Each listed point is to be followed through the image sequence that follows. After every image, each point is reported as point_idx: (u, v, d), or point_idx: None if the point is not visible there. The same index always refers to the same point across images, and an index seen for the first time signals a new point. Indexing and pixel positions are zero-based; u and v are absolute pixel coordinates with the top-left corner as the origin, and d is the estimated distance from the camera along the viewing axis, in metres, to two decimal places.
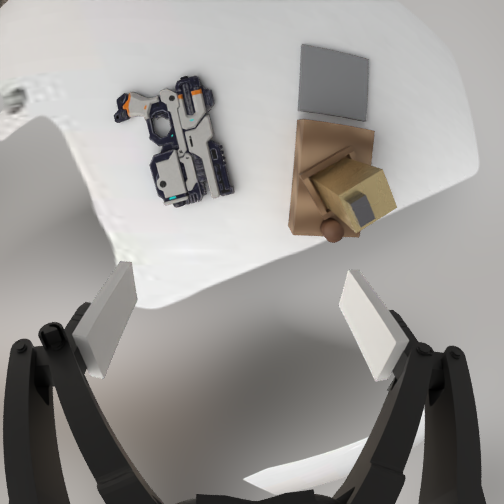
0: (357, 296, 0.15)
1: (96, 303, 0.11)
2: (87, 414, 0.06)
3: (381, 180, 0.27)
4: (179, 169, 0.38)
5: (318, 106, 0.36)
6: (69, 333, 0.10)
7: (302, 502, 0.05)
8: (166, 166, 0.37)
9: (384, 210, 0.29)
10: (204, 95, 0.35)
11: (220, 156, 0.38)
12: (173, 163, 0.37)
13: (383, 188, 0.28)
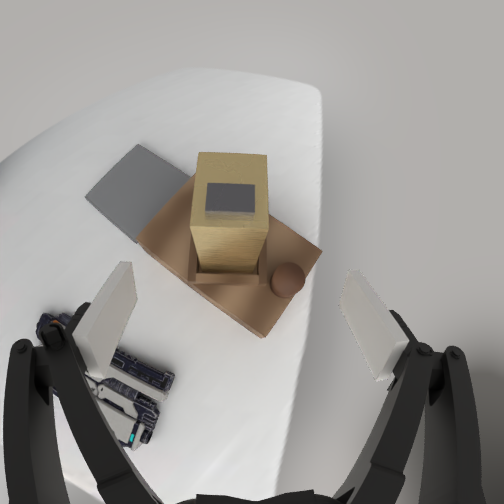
0: (357, 296, 0.15)
1: (96, 303, 0.11)
2: (88, 414, 0.06)
3: (212, 159, 0.19)
4: (107, 406, 0.23)
5: (144, 219, 0.32)
6: (69, 334, 0.10)
7: (302, 502, 0.05)
8: None
9: (259, 172, 0.19)
10: (62, 322, 0.27)
11: (124, 358, 0.26)
12: None
13: (225, 160, 0.19)
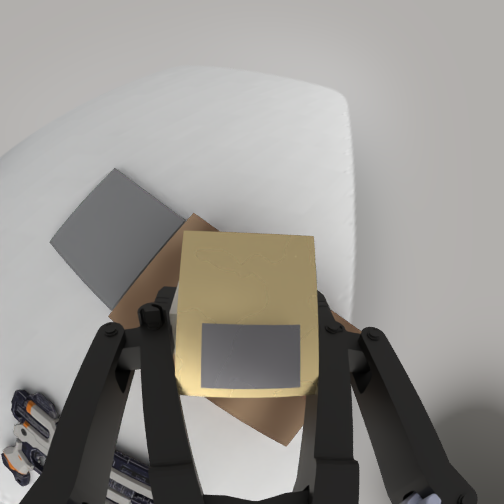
0: None
1: None
2: (166, 398, 0.08)
3: (210, 247, 0.10)
4: None
5: (122, 279, 0.23)
6: None
7: (302, 502, 0.05)
8: None
9: (302, 278, 0.10)
10: (38, 404, 0.18)
11: None
12: None
13: (236, 251, 0.10)
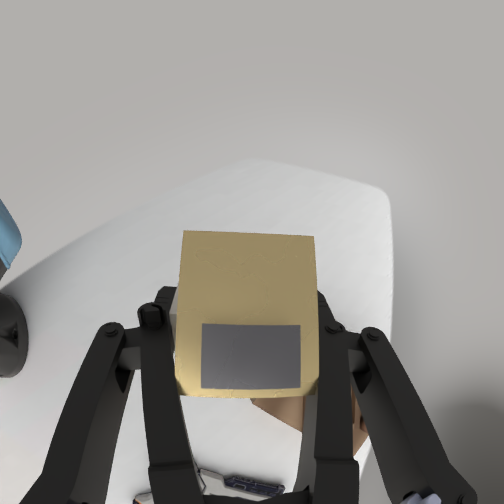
0: None
1: None
2: (166, 398, 0.08)
3: (210, 247, 0.10)
4: None
5: None
6: None
7: (302, 502, 0.05)
8: None
9: (302, 278, 0.10)
10: None
11: (245, 483, 0.28)
12: None
13: (236, 251, 0.10)
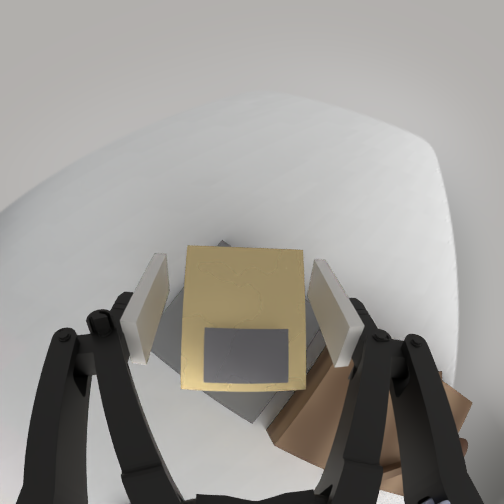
0: (321, 284, 0.16)
1: (139, 291, 0.13)
2: (126, 404, 0.07)
3: (211, 260, 0.12)
4: None
5: None
6: None
7: (302, 502, 0.05)
8: None
9: (291, 287, 0.12)
10: None
11: None
12: None
13: (233, 264, 0.12)
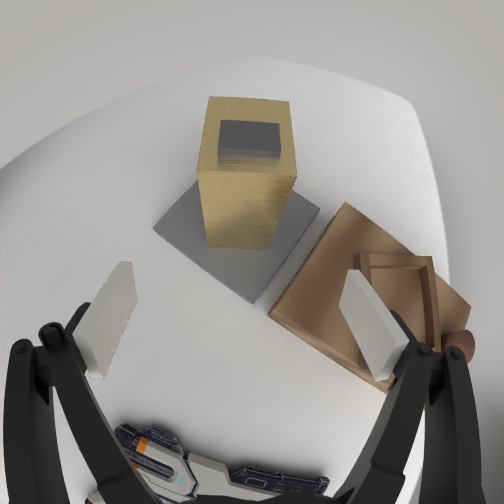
0: (357, 296, 0.15)
1: (96, 303, 0.11)
2: (88, 415, 0.06)
3: (225, 103, 0.15)
4: None
5: (263, 269, 0.23)
6: (69, 334, 0.10)
7: (302, 502, 0.05)
8: None
9: (281, 117, 0.15)
10: (154, 439, 0.18)
11: (265, 477, 0.17)
12: None
13: (241, 104, 0.15)
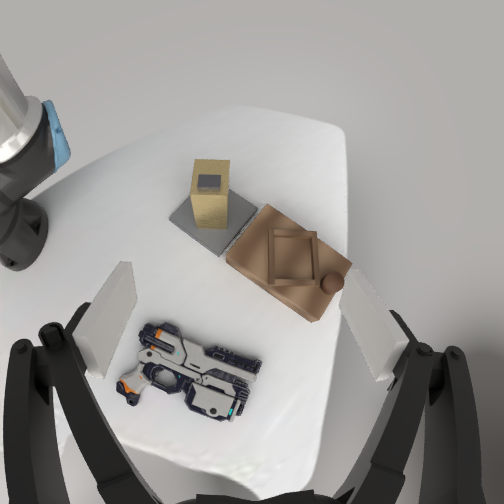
0: (357, 296, 0.15)
1: (96, 303, 0.11)
2: (88, 415, 0.06)
3: (201, 162, 0.38)
4: (211, 390, 0.36)
5: (224, 239, 0.46)
6: (69, 334, 0.10)
7: (302, 502, 0.05)
8: (200, 398, 0.36)
9: (225, 169, 0.38)
10: (165, 330, 0.40)
11: (224, 352, 0.39)
12: (202, 391, 0.36)
13: (208, 163, 0.38)
